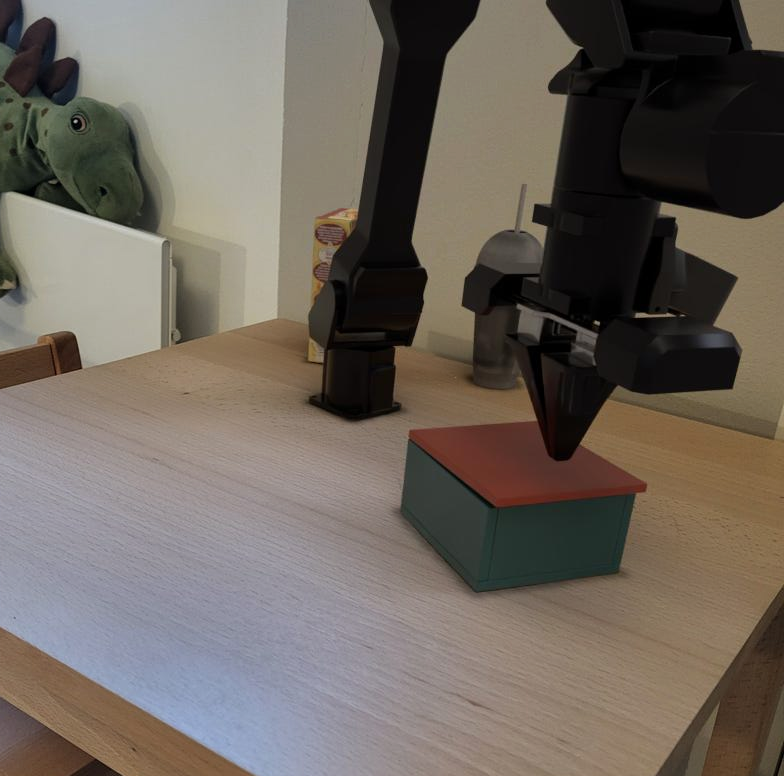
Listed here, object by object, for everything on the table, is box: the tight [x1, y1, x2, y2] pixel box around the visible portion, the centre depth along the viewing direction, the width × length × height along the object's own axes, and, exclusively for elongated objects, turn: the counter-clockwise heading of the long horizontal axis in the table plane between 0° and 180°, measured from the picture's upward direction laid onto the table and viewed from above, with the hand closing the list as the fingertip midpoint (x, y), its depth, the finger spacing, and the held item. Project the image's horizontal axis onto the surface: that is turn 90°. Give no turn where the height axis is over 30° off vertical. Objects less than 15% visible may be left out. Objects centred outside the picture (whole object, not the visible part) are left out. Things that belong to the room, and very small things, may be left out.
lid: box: [408, 420, 648, 508], centre depth 60 cm, size 12×10×1 cm
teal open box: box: [399, 438, 637, 593], centre depth 61 cm, size 11×10×6 cm
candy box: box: [307, 207, 358, 364], centre depth 99 cm, size 9×4×15 cm, turn 161°
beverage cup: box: [471, 183, 544, 390], centre depth 92 cm, size 7×7×20 cm
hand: (559, 458), depth 55 cm, fingers closed
